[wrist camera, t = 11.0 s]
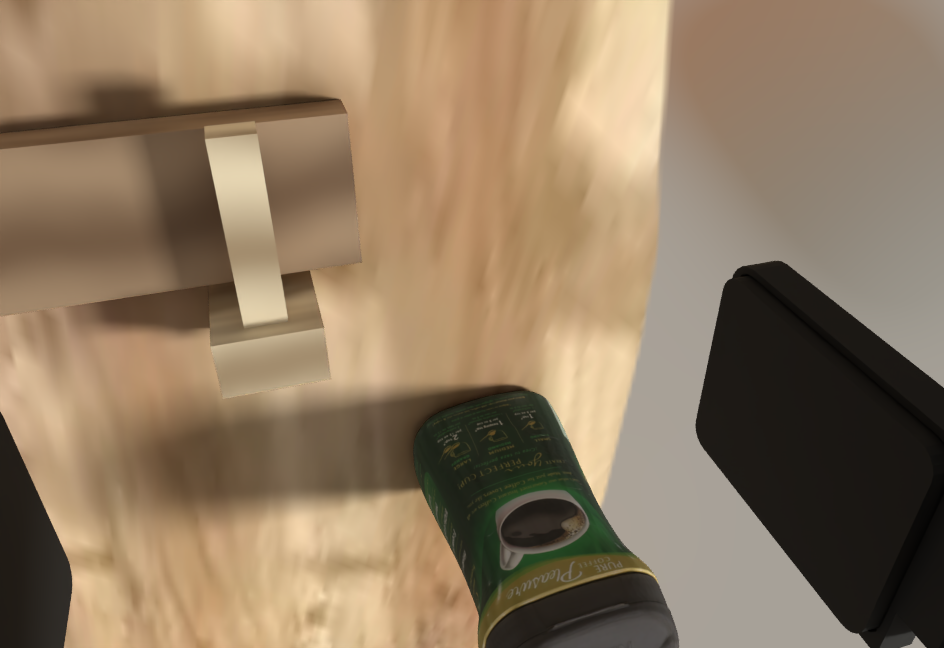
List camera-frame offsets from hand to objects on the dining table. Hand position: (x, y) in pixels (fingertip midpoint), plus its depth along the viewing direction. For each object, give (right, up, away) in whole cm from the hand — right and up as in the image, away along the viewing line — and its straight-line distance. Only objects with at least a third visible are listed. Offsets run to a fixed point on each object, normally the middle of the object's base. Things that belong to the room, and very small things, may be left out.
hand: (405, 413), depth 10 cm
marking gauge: (-10, +6, +28) cm, 30 cm away
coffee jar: (+2, -6, +41) cm, 41 cm away
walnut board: (-19, +6, +25) cm, 32 cm away
